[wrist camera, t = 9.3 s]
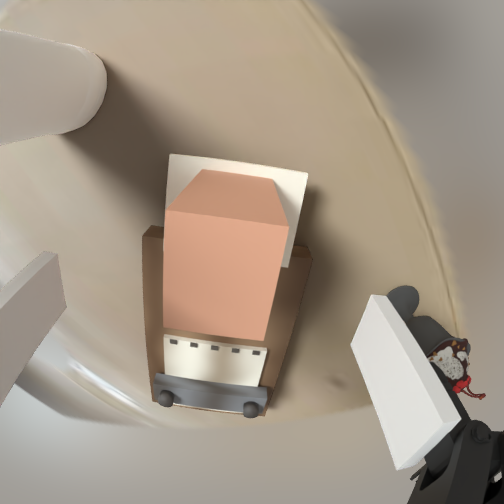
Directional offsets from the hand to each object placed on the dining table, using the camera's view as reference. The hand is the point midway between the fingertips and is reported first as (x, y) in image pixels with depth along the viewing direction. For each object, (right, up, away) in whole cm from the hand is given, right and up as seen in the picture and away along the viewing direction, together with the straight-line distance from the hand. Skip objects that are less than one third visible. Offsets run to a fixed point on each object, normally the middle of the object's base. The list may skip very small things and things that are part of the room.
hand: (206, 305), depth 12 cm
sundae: (+18, -3, +18) cm, 26 cm away
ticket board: (-2, -6, +19) cm, 20 cm away
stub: (0, +5, +11) cm, 12 cm away
